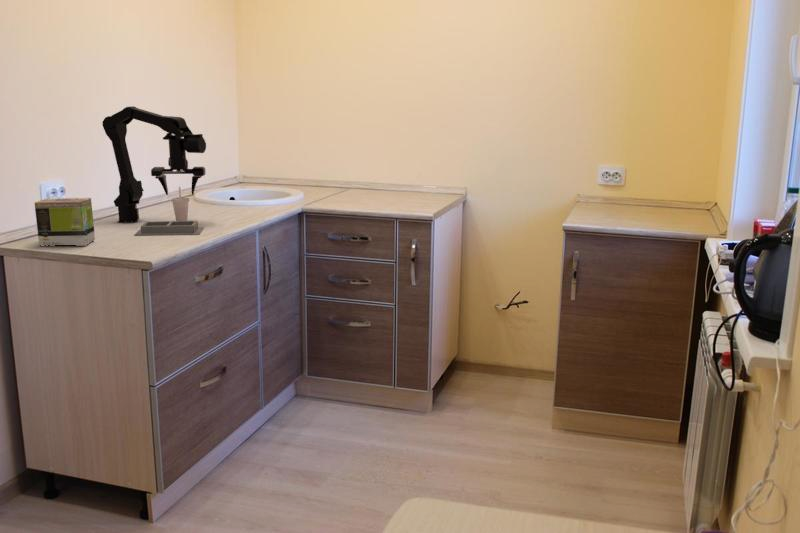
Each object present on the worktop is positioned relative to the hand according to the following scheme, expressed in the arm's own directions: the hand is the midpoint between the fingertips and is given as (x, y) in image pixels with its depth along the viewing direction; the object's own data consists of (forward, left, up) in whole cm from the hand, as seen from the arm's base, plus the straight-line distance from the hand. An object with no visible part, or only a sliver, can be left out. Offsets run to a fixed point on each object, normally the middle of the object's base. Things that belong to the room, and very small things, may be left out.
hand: (179, 194), depth 292 cm
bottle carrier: (-2, -14, -11) cm, 18 cm away
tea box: (-32, -32, -11) cm, 47 cm away
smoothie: (0, 0, -11) cm, 11 cm away
